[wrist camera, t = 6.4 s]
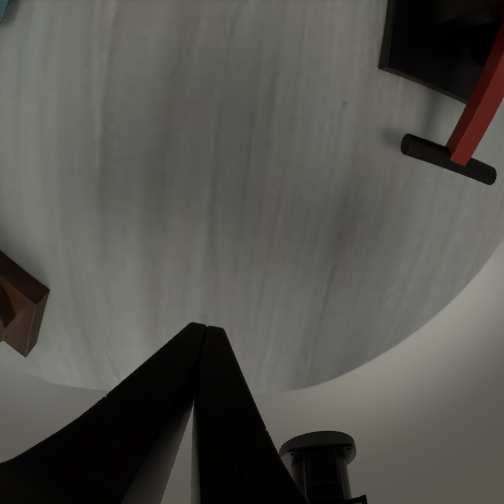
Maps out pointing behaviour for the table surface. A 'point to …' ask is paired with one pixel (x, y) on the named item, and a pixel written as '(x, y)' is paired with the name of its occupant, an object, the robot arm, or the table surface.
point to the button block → (20, 306)
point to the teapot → (3, 7)
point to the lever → (468, 124)
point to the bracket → (440, 42)
